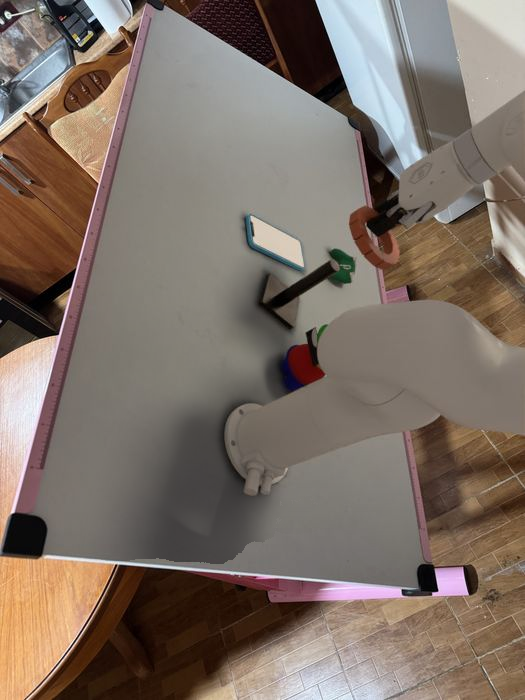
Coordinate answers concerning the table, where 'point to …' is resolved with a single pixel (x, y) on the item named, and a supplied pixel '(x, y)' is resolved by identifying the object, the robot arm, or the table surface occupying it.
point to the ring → (366, 243)
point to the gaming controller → (344, 266)
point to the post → (292, 292)
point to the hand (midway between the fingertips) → (372, 224)
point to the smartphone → (275, 242)
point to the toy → (303, 362)
